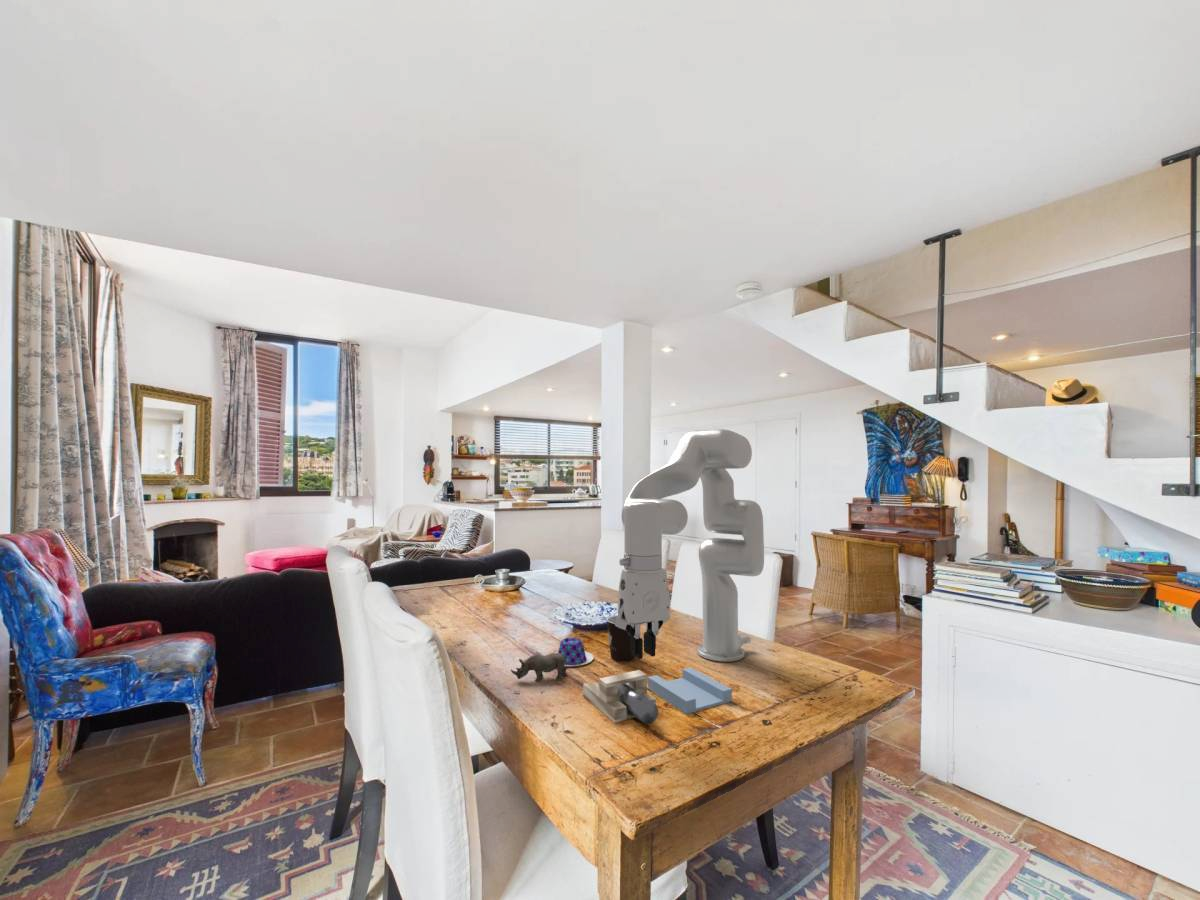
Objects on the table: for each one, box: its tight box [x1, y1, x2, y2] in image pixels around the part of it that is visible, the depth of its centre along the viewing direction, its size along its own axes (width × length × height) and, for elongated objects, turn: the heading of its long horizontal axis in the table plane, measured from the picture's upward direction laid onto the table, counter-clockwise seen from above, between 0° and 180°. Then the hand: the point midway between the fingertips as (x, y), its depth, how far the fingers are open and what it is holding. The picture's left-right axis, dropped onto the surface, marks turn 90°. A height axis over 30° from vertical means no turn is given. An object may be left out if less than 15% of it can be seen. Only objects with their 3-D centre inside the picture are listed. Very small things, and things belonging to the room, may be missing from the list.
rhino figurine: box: [510, 652, 568, 683], centre depth 120 cm, size 4×14×6 cm, turn 105°
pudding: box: [554, 637, 594, 667], centre depth 133 cm, size 12×12×5 cm
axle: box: [618, 683, 659, 725], centre depth 103 cm, size 13×4×4 cm, turn 28°
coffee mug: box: [606, 615, 635, 663], centre depth 137 cm, size 12×9×10 cm
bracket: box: [582, 669, 657, 723], centre depth 108 cm, size 10×14×6 cm
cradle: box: [647, 666, 733, 715], centre depth 112 cm, size 12×14×3 cm
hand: (643, 654), depth 100 cm, fingers closed
